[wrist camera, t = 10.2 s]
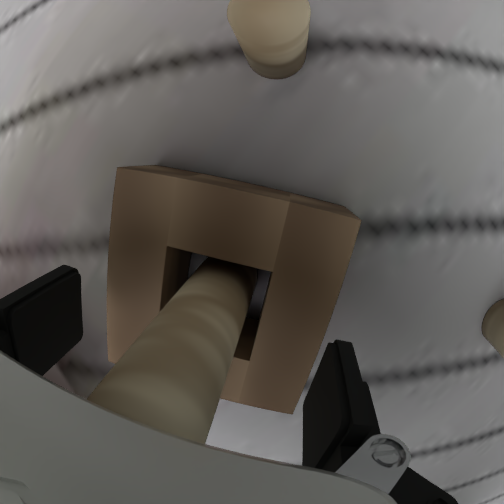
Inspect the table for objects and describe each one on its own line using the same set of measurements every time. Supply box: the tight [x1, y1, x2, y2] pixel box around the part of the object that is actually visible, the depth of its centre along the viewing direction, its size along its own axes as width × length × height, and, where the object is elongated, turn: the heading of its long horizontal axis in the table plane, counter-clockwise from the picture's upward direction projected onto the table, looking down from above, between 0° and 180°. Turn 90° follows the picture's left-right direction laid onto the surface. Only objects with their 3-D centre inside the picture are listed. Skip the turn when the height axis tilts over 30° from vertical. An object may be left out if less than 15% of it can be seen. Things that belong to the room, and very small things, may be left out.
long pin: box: [87, 256, 257, 444], centre depth 11 cm, size 3×3×12 cm
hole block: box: [107, 165, 361, 414], centre depth 15 cm, size 10×10×4 cm
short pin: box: [227, 0, 311, 79], centre depth 11 cm, size 3×3×5 cm
